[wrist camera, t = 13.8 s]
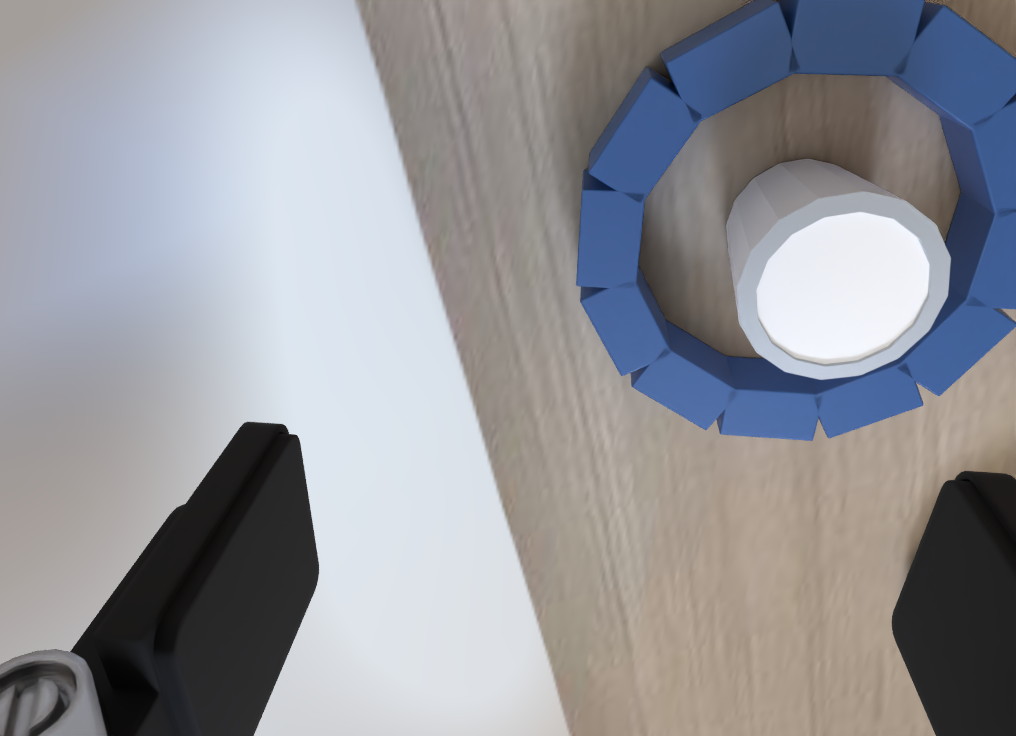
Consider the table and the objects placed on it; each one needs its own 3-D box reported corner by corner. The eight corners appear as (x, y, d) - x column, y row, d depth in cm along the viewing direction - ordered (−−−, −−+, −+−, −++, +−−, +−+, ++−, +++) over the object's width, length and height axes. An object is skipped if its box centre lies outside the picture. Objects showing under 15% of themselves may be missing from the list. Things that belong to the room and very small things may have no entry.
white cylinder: (917, 229, 31) (995, 298, 25) (775, 331, 34) (814, 415, 28) (817, 104, 29) (875, 146, 23) (676, 223, 32) (694, 288, 26)
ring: (570, 390, 36) (567, 424, 34) (594, -12, 28) (593, -9, 25) (945, 414, 35) (974, 452, 32) (1093, -4, 26) (1148, 1, 24)
